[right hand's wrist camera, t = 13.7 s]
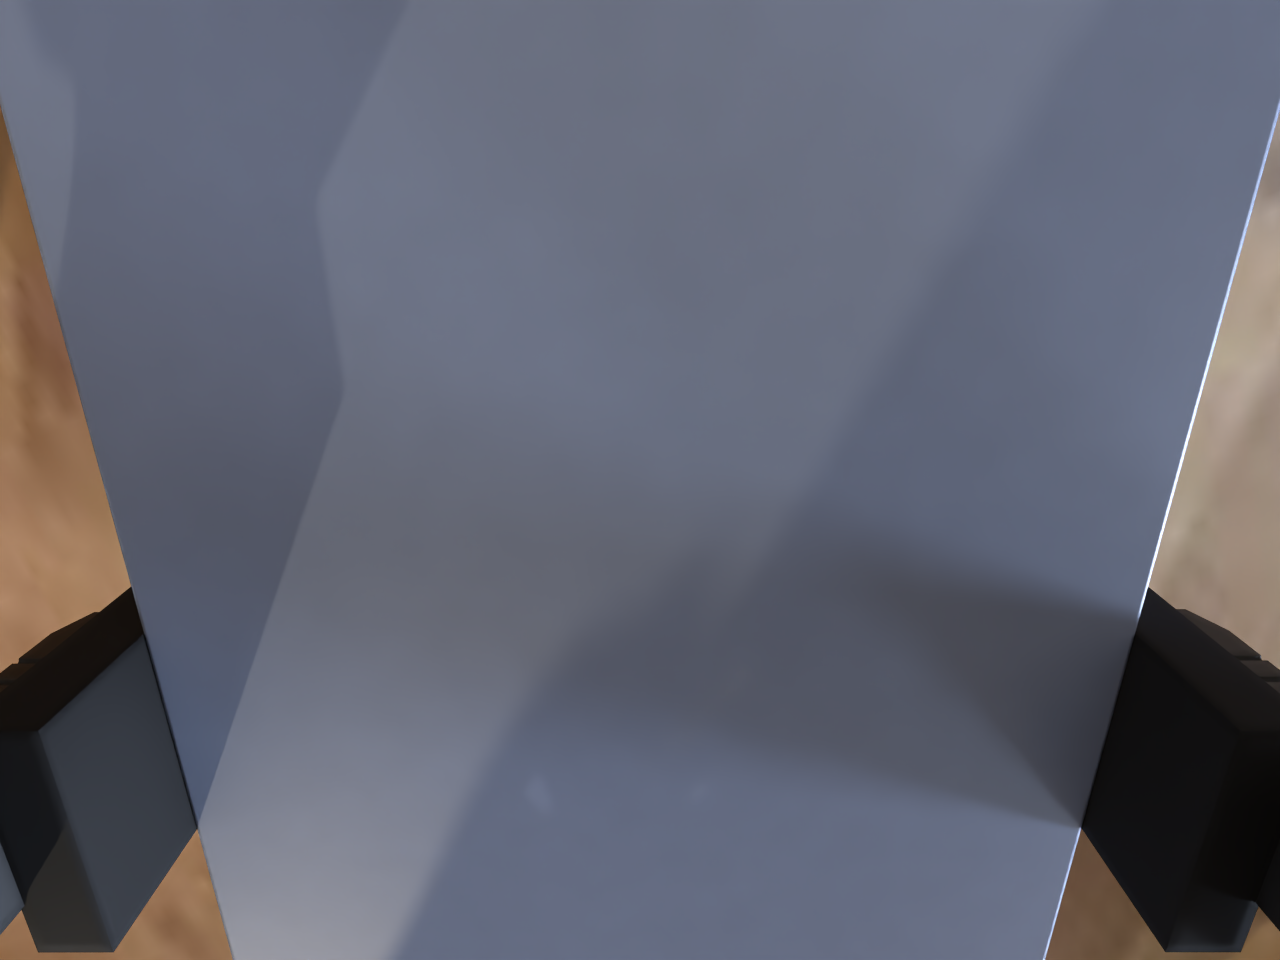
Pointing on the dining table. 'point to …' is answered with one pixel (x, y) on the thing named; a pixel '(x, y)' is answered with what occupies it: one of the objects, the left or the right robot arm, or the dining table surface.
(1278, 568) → the dining table surface
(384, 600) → the cabinet
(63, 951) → the right robot arm
